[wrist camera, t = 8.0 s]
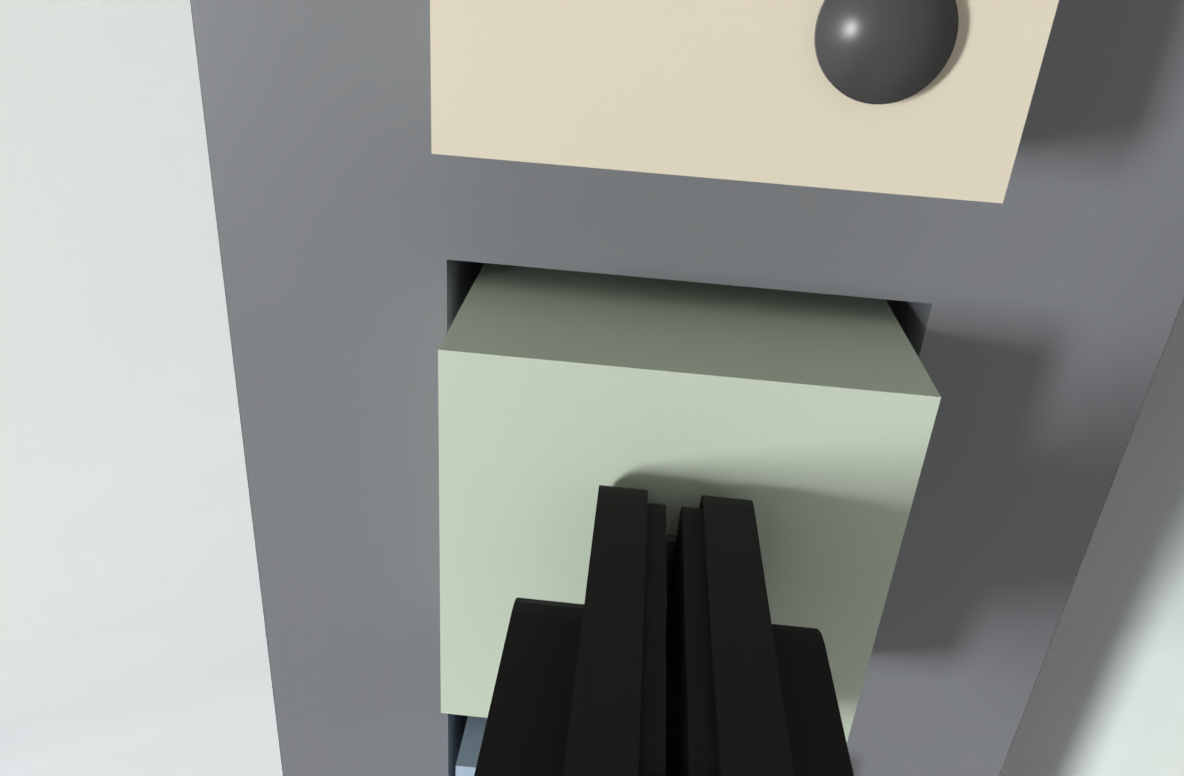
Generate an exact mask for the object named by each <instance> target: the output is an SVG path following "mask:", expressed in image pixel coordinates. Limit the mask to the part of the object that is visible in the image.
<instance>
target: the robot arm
mask: <svg viewBox="0 0 1184 776" xmlns="http://www.w3.org/2000/svg"><path fill="white" fill-rule="evenodd" d="M474 776H854V774H853V770H852V765H851V760H850V756H849V751H848V747H847V742H846V738H845V733H844V729H843V724H842V720H841V715H840V710H839V706H838V701H837V697H836V692H835V688H834V683H833V679H832V674H831V670H830V665H829V660H828V656H827V651H826V647H825V643H824V640H823V637H822V634H821V632H820V631H819V630H818V629H817V628H807V627H797V626H788V625H778V624H772V623H771V617H770V610H769V603H768V596H767V590H766V583H765V576H764V570H763V563H762V556H761V550H760V543H759V536H758V530H757V523H756V516H755V510H754V504H753V501H752V500H746V499H735V498H725V497H715V496H705V495H702V497H701V500H700V504H699V508H693V507H683V506H682V507H681V511H680V517H679V524H678V531H677V538H676V546H675V553H674V561H673V568H672V576H671V583H670V590H669V598H668V605H667V613H666V505H663V504H653V503H648V490H645V489H635V488H625V487H614V486H604V485H599V490H598V498H597V506H596V514H595V522H594V530H593V538H592V546H591V554H590V562H589V570H588V578H587V586H586V594H585V602H584V604H576V603H566V602H556V601H547V600H537V599H527V598H518V597H517V598H516V600H515V602H514V605H513V609H512V613H511V617H510V622H509V626H508V630H507V635H506V639H505V643H504V648H503V652H502V656H501V661H500V665H499V669H498V674H497V678H496V683H495V687H494V691H493V696H492V700H491V704H490V709H489V713H488V717H487V722H486V726H485V730H484V735H483V739H482V744H481V748H480V752H479V757H478V761H477V765H476V770H475V774H474Z"/></svg>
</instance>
